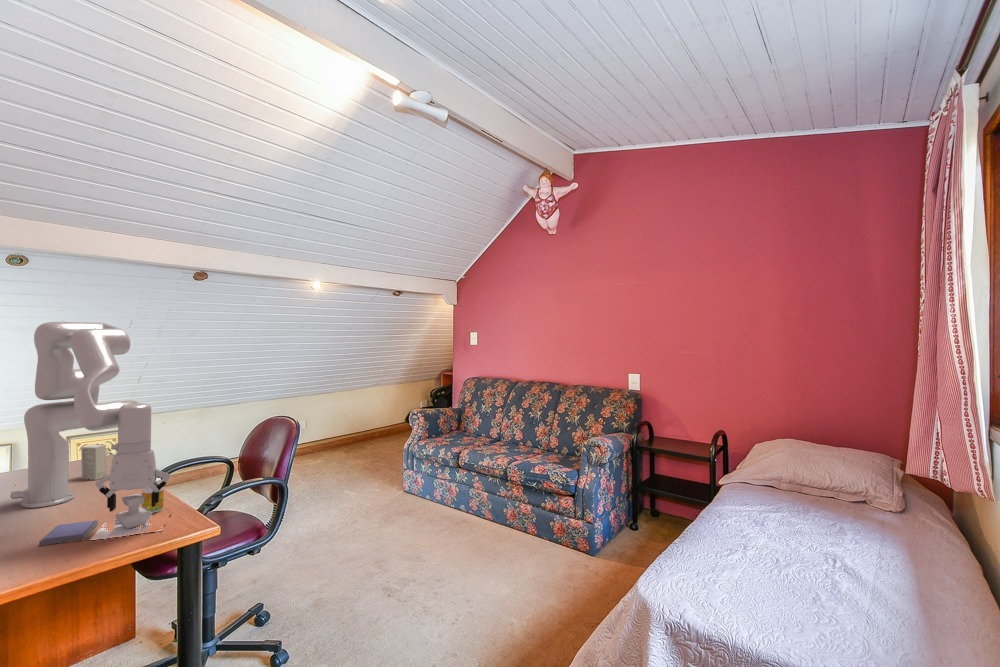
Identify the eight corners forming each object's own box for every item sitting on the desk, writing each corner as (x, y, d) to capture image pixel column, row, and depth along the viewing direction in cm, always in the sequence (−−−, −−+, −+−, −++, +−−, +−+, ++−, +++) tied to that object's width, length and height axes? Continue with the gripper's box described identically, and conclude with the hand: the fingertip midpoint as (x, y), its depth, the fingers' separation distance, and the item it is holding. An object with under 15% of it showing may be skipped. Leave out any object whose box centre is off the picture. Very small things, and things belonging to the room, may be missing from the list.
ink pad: (39, 546, 123) (39, 540, 123) (57, 529, 133) (57, 524, 133) (83, 540, 127) (83, 534, 127) (98, 524, 137) (98, 519, 137)
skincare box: (106, 476, 180) (107, 444, 180) (95, 480, 175) (95, 447, 175) (91, 475, 181) (92, 443, 180) (80, 479, 176) (80, 446, 176)
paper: (89, 541, 126) (89, 540, 126) (106, 521, 139) (106, 520, 139) (161, 531, 133) (161, 530, 133) (171, 513, 146) (172, 513, 146)
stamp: (118, 534, 130) (119, 503, 130) (109, 528, 134) (110, 498, 134) (156, 523, 138) (157, 494, 138) (147, 518, 142) (147, 489, 142)
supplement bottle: (151, 515, 145) (152, 483, 144) (137, 513, 146) (137, 481, 146) (167, 508, 150) (168, 477, 150) (153, 507, 151) (153, 476, 151)
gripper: (91, 453, 129) (90, 516, 129) (168, 447, 136) (167, 507, 136) (100, 447, 136) (99, 507, 136) (173, 442, 143) (172, 499, 143)
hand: (133, 507), depth 136 cm, fingers open, 9 cm apart
